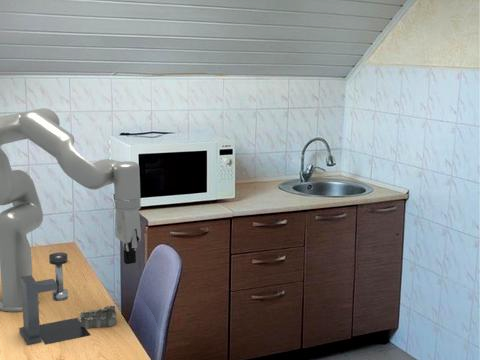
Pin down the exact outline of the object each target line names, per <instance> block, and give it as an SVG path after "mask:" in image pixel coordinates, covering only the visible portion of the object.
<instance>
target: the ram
mask: <svg viewBox="0 0 480 360" xmlns="http://www.w3.org/2000/svg"><path fill="white" fill-rule="evenodd" d="M48 261H49V264H51V265H54V268H55V269H54V270H55V271H54V273H55V282H56V283H57V290H53V291H51V295H52V296H51V298H52V299H51V300H52V301H55V302H64V301H67V300H68V298H69V290H68V289H65V288H64V272H63V271H64V270H63V265H64V264H67V263H68V261H69V260H68V253H65V252H53V253H50V254H49V255H48Z"/></svg>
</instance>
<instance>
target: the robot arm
mask: <svg viewBox="0 0 480 360" xmlns="http://www.w3.org/2000/svg"><path fill="white" fill-rule="evenodd" d="M60 121H61V120H60V118H59V116H58V115H57V113H56V112H55V111H54V110H51V109H50V108H46V107H43V108H36V109H33V110H32V109H31V110H28V111H24V112H18V113H12V114H6V115H0V206H6V205H10V204H11V205H12V206H11V207H9V208H7V209H5V210H3V211H1V212H0V283H1V284H0V285H1V297H2V298H0V310H1V311H2V312H3V311H4V312H9V313H10V312H11V313H12V312H15V313H16V312H23V307H22V290H21V277H24V276H31V275H32V277H33V278H34V275H33V262H32V261H33V259H32V248H31V245H30V242H29V240H28V237H27V235H28V234H30V233H31V232H33V231H35V230H36V229H38V228H39V227H40V226H41V225H42V223H43V220H44V213H43V209H42V205H41V202H40V199H39V195H38V192H37V189H36V185H35V183H34V181H33V178H32V177H31V176H30V175H29V174H28V173H27V172H26V171H23V170H21V169H12V167H11V163H10V160H9V157H8V156H7V154H6V153H5V151H4V150H3V149H2V147H1V146H3V145H6V144H10V143H15V142H19V141H23V140H29V141H30V142H32V143H34V144H35V145H37V147H40V148H41V149H42V150H44V151H45V152H46V153H48V154H49V155H51V156H52V157H54V158H55V160H56V161H57V164H58V165H59V167H60V168H61V170H62V171H63V172H64V173H65V175H67V177H69V178H70V179H72V180H73V181H75V182H76V183H77V184H79V185H80V186H82V187H84V188H85V189H88V190H92V191H93V190H100V189H101V188H104V187H106V186H109V185H112V184H113V187H114V188H113V189H114V191H113V192H114V209H115V221H114V222H115V225H114V226H115V228H114V229H115V231H114V234H115V237H116V238H117V239H118V240H119V241H121V242H122V249H123V263H124V264H125V265H129V264H130V265H131V264H135V263H136V261H137V258H136V256H137V254H136V252H137V248H138V243H140V241H141V240H142V229H141V218H140V211H139V210H140V209H141V208H142V204H141V177H140V165H139V164H138V162H136V161H131V160H129V161H127V160H126V161H119V160H115V159H109V158H104V159H101V160H98V161H96V162H91V161H90V160H88V159H87V158H85V157H83V156H82V155H81V154H80V153H79V152H78V151H77V150H76V149H75V146H74V144H75V136H74V135H73V134H72V133H70V131H68V130H67V129H64V128H63V126H60V124H61V122H60ZM39 303H40V298H39V297H38V304H39Z"/></svg>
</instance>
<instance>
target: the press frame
mask: <svg viewBox="0 0 480 360" xmlns="http://www.w3.org/2000/svg"><path fill="white" fill-rule="evenodd" d="M32 276H33V274H32V275H31V276H24V277H21V290H22V307H23V311H22V320H23V321H22V322H23V326H22V327H19V328H18V331H19V333H20V336H21V337H22V340H23V341H24V342H25V345H26V346H30V345H34V344H39V343H42V342H43V344H44V345H50V344H56V343H60V342H66V341H71V340H75V339H79V338H85V337H89V336H91V333H90V332H89V331H88V330H87V328H84V327H81V320H79V317H73V318H69V319H64V320H58V321H53V322H47V323H42V324H40V310H39V309H40V308H39V307H40V306H39V303H38V298H39V294H41V293H47V292H52V291H54V290H57V283H56V279H54V278H51V279H49V278H48V279H43V280H38V281H36V279H35V278H34V276H33V277H32Z"/></svg>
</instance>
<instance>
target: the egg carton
mask: <svg viewBox="0 0 480 360" xmlns="http://www.w3.org/2000/svg"><path fill="white" fill-rule="evenodd" d="M79 315H80V316H79V318H80V322H81V327H84V328H86V329H89V328H91V327H96V328H98V329H99V328H101V327H103V326H107V327H113V326H115V325H116V324H117V312H116V306H115V305H107V306H104V308H99V309H95V310H94V309H93V310H89V311H80V314H79Z"/></svg>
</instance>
